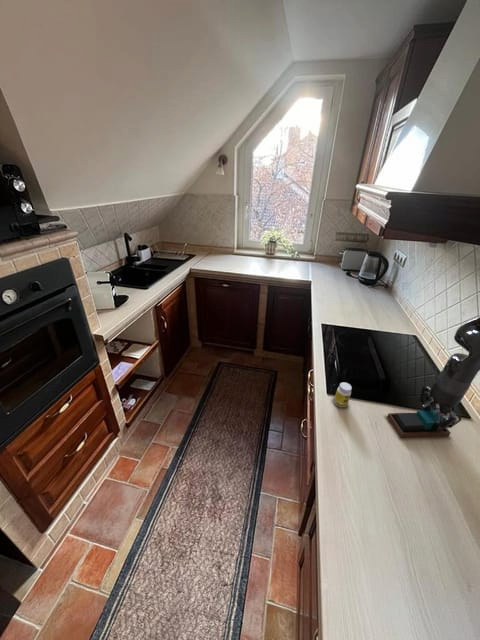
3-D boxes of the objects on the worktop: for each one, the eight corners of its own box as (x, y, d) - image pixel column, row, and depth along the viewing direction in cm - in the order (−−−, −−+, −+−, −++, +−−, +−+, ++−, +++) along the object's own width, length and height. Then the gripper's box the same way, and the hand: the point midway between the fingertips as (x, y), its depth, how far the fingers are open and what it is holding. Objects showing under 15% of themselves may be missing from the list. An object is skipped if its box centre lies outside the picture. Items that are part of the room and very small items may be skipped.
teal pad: (432, 416, 88) (436, 410, 86) (442, 429, 83) (447, 422, 82) (414, 417, 87) (417, 410, 85) (423, 430, 83) (428, 423, 81)
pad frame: (430, 416, 90) (433, 412, 89) (448, 436, 83) (451, 432, 82) (386, 417, 89) (388, 413, 88) (400, 438, 82) (402, 434, 81)
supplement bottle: (342, 409, 91) (348, 393, 87) (331, 401, 95) (336, 385, 90) (349, 403, 94) (355, 386, 90) (338, 395, 97) (343, 379, 93)
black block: (410, 419, 88) (414, 412, 86) (420, 432, 84) (424, 425, 82) (392, 419, 87) (396, 413, 86) (401, 432, 83) (405, 425, 81)
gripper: (483, 404, 71) (455, 441, 79) (444, 369, 83) (424, 405, 91) (457, 404, 70) (432, 442, 79) (422, 369, 83) (404, 405, 91)
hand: (428, 422), depth 85 cm, fingers closed on teal pad, 5 cm apart
